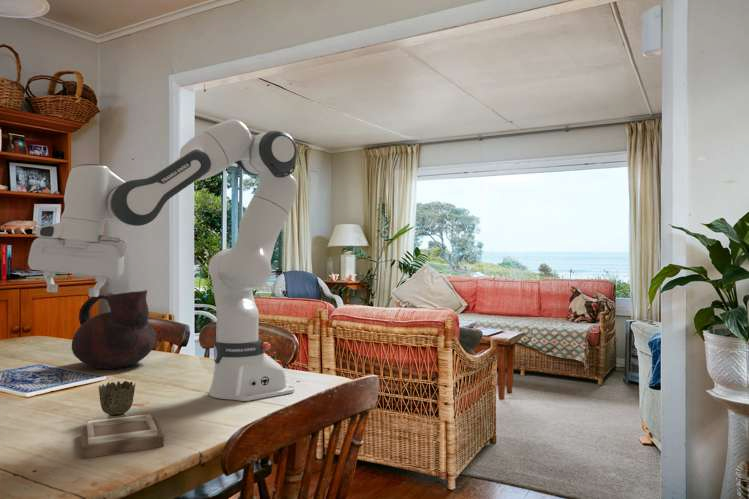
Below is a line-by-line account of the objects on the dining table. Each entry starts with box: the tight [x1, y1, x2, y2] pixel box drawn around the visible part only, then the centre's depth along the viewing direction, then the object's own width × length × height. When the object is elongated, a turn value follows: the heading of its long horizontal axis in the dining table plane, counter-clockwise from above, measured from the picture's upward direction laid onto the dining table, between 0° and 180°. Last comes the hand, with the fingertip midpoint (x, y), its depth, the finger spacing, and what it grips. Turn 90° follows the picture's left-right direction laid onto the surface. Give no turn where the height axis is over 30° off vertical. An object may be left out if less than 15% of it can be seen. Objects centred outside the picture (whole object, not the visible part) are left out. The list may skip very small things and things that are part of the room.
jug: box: [71, 289, 157, 370], centre depth 180 cm, size 25×25×25 cm
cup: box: [98, 380, 136, 419], centre depth 122 cm, size 8×7×8 cm
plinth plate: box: [80, 413, 165, 459], centre depth 109 cm, size 14×14×3 cm
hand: (72, 294), depth 123 cm, fingers open, 8 cm apart
